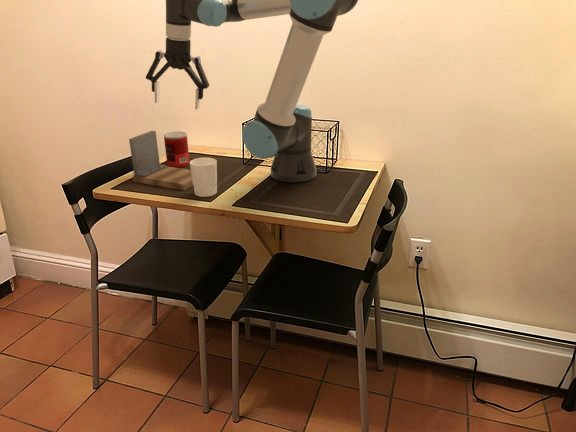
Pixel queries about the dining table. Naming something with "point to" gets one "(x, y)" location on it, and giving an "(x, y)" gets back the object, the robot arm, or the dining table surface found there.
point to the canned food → (176, 149)
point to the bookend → (145, 154)
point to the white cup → (204, 176)
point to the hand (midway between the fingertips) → (177, 105)
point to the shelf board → (168, 178)
